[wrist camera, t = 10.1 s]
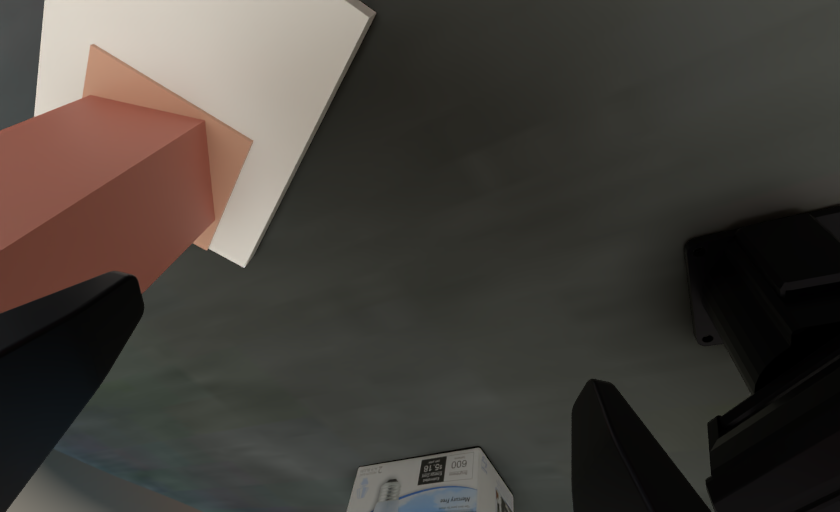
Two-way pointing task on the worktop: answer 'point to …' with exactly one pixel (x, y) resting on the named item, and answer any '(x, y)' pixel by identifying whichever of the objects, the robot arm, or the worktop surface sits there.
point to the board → (212, 84)
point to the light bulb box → (432, 485)
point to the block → (98, 195)
